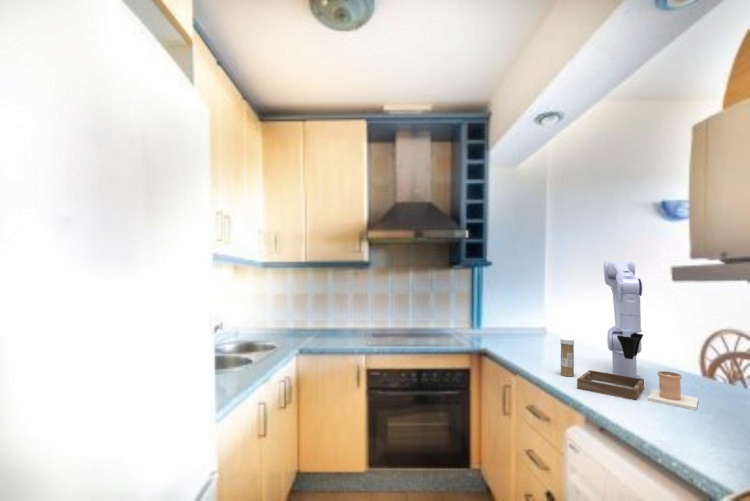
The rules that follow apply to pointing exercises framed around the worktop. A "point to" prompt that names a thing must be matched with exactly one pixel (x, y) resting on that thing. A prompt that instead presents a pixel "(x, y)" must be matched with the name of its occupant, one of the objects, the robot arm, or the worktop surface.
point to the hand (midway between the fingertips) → (630, 357)
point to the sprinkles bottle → (567, 356)
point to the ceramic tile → (684, 402)
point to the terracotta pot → (670, 385)
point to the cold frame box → (623, 392)
